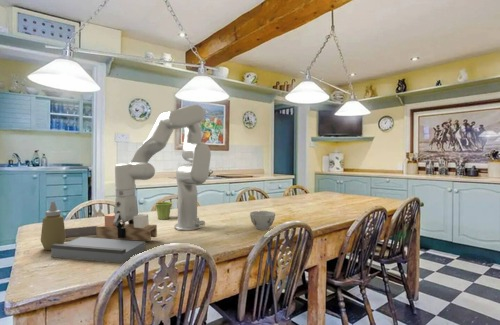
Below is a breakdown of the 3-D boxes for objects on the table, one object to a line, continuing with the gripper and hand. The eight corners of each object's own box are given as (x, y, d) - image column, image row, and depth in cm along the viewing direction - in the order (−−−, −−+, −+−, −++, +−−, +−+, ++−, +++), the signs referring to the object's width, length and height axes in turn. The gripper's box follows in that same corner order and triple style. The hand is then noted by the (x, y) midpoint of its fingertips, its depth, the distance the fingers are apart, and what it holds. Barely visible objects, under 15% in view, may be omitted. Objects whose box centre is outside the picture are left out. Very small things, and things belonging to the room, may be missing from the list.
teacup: (280, 229, 142) (280, 213, 141) (262, 233, 133) (262, 216, 133) (259, 223, 153) (259, 208, 153) (241, 227, 145) (241, 211, 145)
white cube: (148, 225, 121) (148, 214, 121) (142, 227, 117) (142, 217, 117) (139, 224, 122) (139, 214, 122) (133, 227, 117) (133, 216, 117)
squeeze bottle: (48, 244, 114) (48, 199, 113) (70, 244, 115) (69, 199, 114) (35, 251, 106) (34, 203, 105) (58, 251, 107) (58, 203, 106)
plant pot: (165, 215, 169) (165, 201, 169) (175, 218, 163) (175, 203, 163) (151, 218, 161) (151, 203, 161) (162, 221, 156) (162, 205, 155)
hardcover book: (107, 237, 126) (107, 232, 126) (43, 245, 115) (43, 239, 115) (106, 229, 140) (106, 224, 140) (49, 234, 130) (49, 229, 129)
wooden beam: (156, 236, 122) (156, 224, 121) (149, 241, 116) (149, 228, 115) (106, 234, 126) (106, 222, 126) (96, 238, 120) (96, 226, 120)
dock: (145, 249, 110) (145, 238, 110) (122, 262, 96) (122, 250, 96) (81, 244, 115) (81, 234, 115) (51, 256, 101) (51, 244, 101)
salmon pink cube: (120, 223, 124) (119, 213, 123) (113, 226, 119) (113, 215, 119) (111, 223, 124) (111, 213, 124) (104, 226, 120) (104, 215, 120)
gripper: (120, 196, 111) (122, 242, 112) (144, 190, 128) (145, 230, 129) (103, 196, 112) (104, 241, 113) (129, 189, 129) (130, 229, 130)
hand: (126, 234), depth 121 cm, fingers closed on wooden beam, 6 cm apart
